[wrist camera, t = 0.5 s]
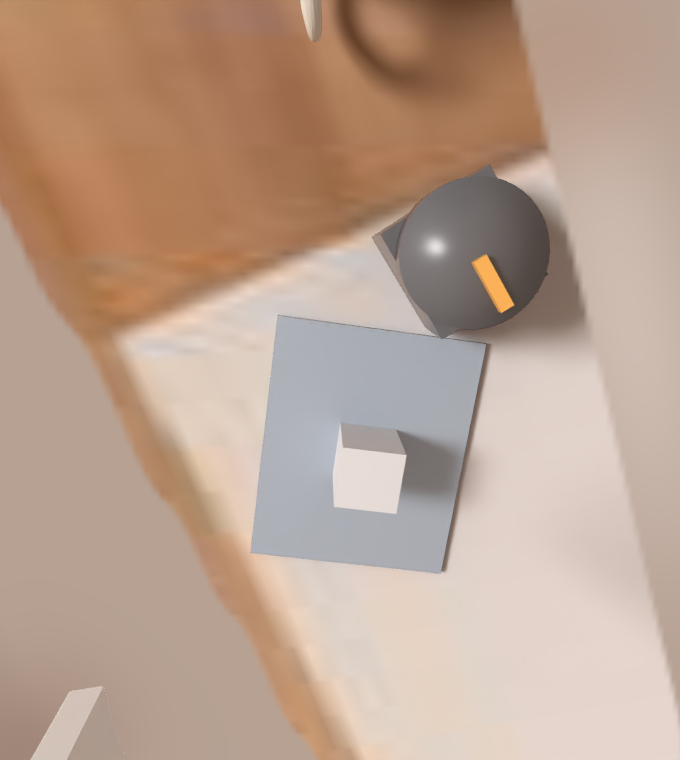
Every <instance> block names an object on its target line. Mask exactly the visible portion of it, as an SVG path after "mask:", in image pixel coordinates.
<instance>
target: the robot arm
mask: <svg viewBox="0 0 680 760" xmlns="http://www.w3.org/2000/svg"><path fill="white" fill-rule="evenodd" d="M31 760H126V757H125V754H124V751H123V748H122V744H121V741H120V738H119V735H118V731H117V728H116V725H115V722H114V718H113V715H112V712H111V709H110V705H109V702H108V699H107V696H106V692H105V689H104V686H100V687H94V688H88V689H81V690H75V691H70V692H69V693H68V695H67V697H66V699H65V701H64V702H63V704H62V706H61V707H60V709H59V711H58V713H57V714H56V716H55V718H54V720H53V722H52V723H51V725H50V727H49V728H48V730H47V732H46V734H45V735H44V737H43V739H42V741H41V742H40V744H39V746H38V748H37V749H36V751H35V753H34V755H33V757H32V758H31Z"/></svg>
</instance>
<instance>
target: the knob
mask: <svg viewBox="0 0 680 760" xmlns="http://www.w3.org/2000/svg"><path fill="white" fill-rule="evenodd" d="M372 238H373V240H374V242H375V244H376V245H377V247H378V249H379V250H380V252H381V254H382V255H383V257H384V259H385V260H386V262H387V264H388V265H389V267H390V269H391V271H392V272H393V274H394V276H395V277H396V279H397V281H398V282H399V284H400V286H401V287H402V289H403V291H404V292H405V294H406V296H407V298H408V299H409V301H410V303H411V304H412V306H413V308H414V309H415V311H416V313H417V314H418V316H419V318H420V319H421V321H422V323H423V325H424V326H425V327H426V328H427V329H428V330H430V331H431V332H432V333H434V334H435V335H436V336H438V337H439V338H441V339H444V338H445V337H447V336H449V335H450V334H452V333H453V332H455V331H457V330H458V329H483V328H487V327H491V326H495V325H497V324H500V323H502V322H504V321H506V320H508V319H510V318H511V317H513V316H514V315H516V314H517V313H519V312H520V311H521V310H522V309H523V308H524V307H525V306H526V305H527V304H528V303H529V302H530V301H531V300H532V298H533V297H534V295H535V294H536V293H537V291H538V289H539V287H540V286H541V284H542V282H543V279H544V277H545V276H546V275H548V274H547V272H546V270H547V266H548V262H549V253H550V247H549V236H548V231H547V227H546V223H545V221H544V219H543V216H542V214H541V212H540V211H539V209H538V207H537V206H536V204H535V203H534V202H533V201H532V199H531V198H530V197H529V196H528V195H527V194H526V193H524V192H523V191H522V190H521V189H519V188H518V187H516V186H515V185H513V184H511V183H509V182H507V181H504V180H501V179H498V178H497V177H496V175H495V173H494V171H493V169H492V168H491V166H490V164H489V165H487V166H485V167H483V168H481V169H479V170H478V171H476V172H474V173H472V174H470V175H468V176H466V177H464V178H461V179H457V180H454V181H452V182H449V183H447V184H445V185H443V186H441V187H440V188H438V189H436V190H434V191H432V192H431V193H429V194H428V195H426V196H425V197H424V198H422V199H421V200H420V201H419V202H418V203H417V204H416V205H415V206H414V208H413V209H412V210H411V211H410V213H408V214H407V215H405V216H404V217H402V218H400V219H399V220H397V221H396V222H394V223H393V224H391V225H390V226H388V227H386V228H385V229H383V230H382V231H380V232H379V233H377V234H376V235H374V236H372Z"/></svg>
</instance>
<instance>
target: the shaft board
mask: <svg viewBox="0 0 680 760" xmlns="http://www.w3.org/2000/svg"><path fill="white" fill-rule="evenodd" d="M485 349H486V344H485V343H480V342H472V341H465V340H457V339H450V338H444V339H441V338H439V337H435V336H428V335H420V334H413V333H406V332H398V331H391V330H383V329H376V328H369V327H361V326H354V325H346V324H339V323H332V322H324V321H317V320H309V319H302V318H295V317H287V316H280V315H278V317H277V325H276V334H275V343H274V352H273V360H272V369H271V378H270V387H269V395H268V404H267V413H266V422H265V430H264V439H263V448H262V457H261V465H260V474H259V483H258V492H257V500H256V509H255V518H254V527H253V535H252V544H251V553H255V554H265V555H274V556H283V557H292V558H302V559H311V560H320V561H329V562H338V563H348V564H357V565H366V566H375V567H384V568H394V569H403V570H412V571H421V572H431V573H440V574H441V569H442V564H443V559H444V554H445V549H446V544H447V539H448V534H449V529H450V524H451V519H452V514H453V509H454V504H455V499H456V494H457V489H458V484H459V479H460V474H461V469H462V464H463V459H464V454H465V449H466V444H467V439H468V434H469V429H470V424H471V419H472V414H473V409H474V404H475V399H476V394H477V389H478V384H479V379H480V374H481V369H482V364H483V359H484V354H485Z"/></svg>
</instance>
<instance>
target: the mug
mask: <svg viewBox="0 0 680 760" xmlns="http://www.w3.org/2000/svg"><path fill="white" fill-rule="evenodd" d="M300 2H301V9H302V14H303V18H304V22H305V25H306V29H307V33H308V36H309V38H310V39H311V40H312V41H313V42H317V41H319V39H320V38H321V34H322V12H321V0H300Z"/></svg>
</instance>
